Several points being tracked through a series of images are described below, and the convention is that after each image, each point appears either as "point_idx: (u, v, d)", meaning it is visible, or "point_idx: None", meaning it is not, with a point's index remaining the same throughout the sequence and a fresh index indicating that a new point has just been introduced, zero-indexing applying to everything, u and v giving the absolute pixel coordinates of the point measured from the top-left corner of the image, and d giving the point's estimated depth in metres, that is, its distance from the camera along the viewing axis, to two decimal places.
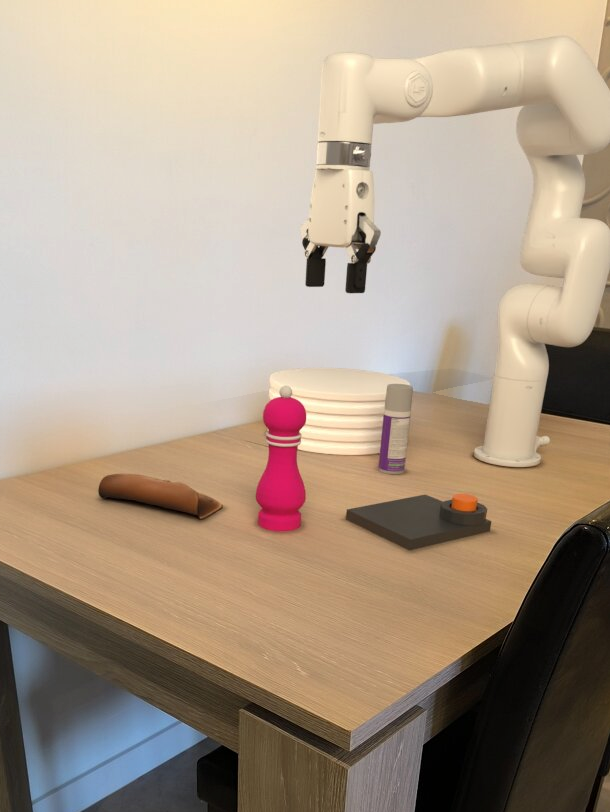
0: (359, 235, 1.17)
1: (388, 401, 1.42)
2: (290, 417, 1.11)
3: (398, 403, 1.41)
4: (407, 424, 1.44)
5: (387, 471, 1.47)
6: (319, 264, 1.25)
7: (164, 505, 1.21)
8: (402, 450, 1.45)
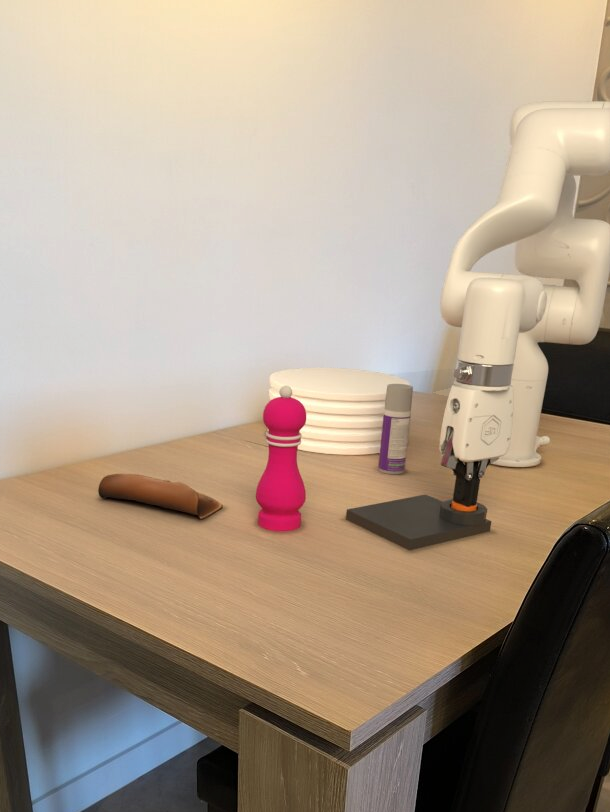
0: None
1: (388, 401, 1.42)
2: (290, 417, 1.11)
3: (398, 403, 1.41)
4: (407, 424, 1.44)
5: (387, 471, 1.47)
6: None
7: (164, 505, 1.21)
8: (402, 450, 1.45)
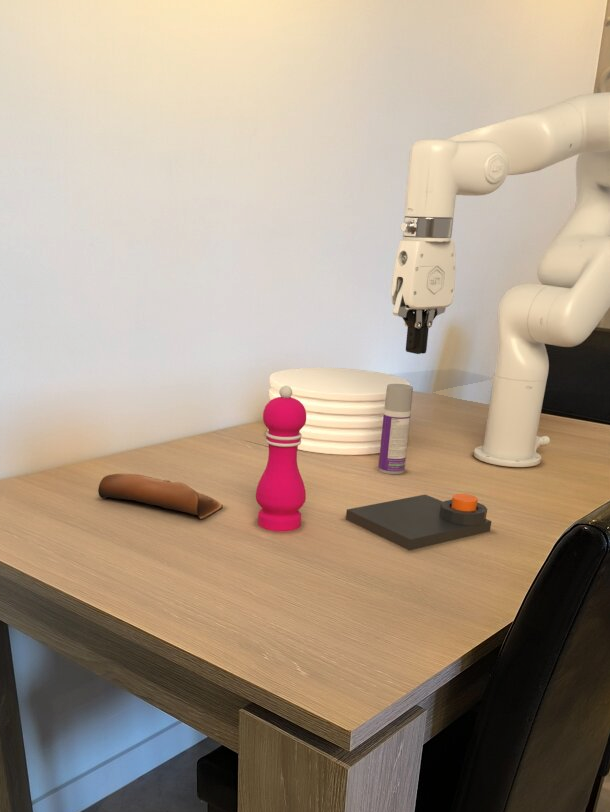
0: None
1: (388, 401, 1.42)
2: (290, 417, 1.11)
3: (398, 403, 1.41)
4: (407, 424, 1.44)
5: (387, 471, 1.47)
6: None
7: (164, 505, 1.21)
8: (402, 450, 1.45)
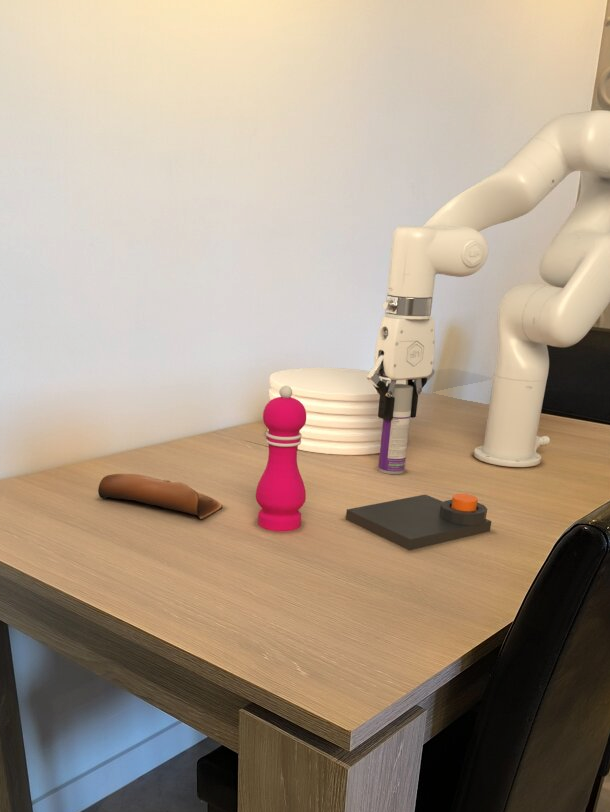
0: None
1: None
2: (290, 417, 1.11)
3: (398, 403, 1.41)
4: (407, 424, 1.44)
5: (387, 471, 1.47)
6: None
7: (164, 505, 1.21)
8: (402, 450, 1.45)
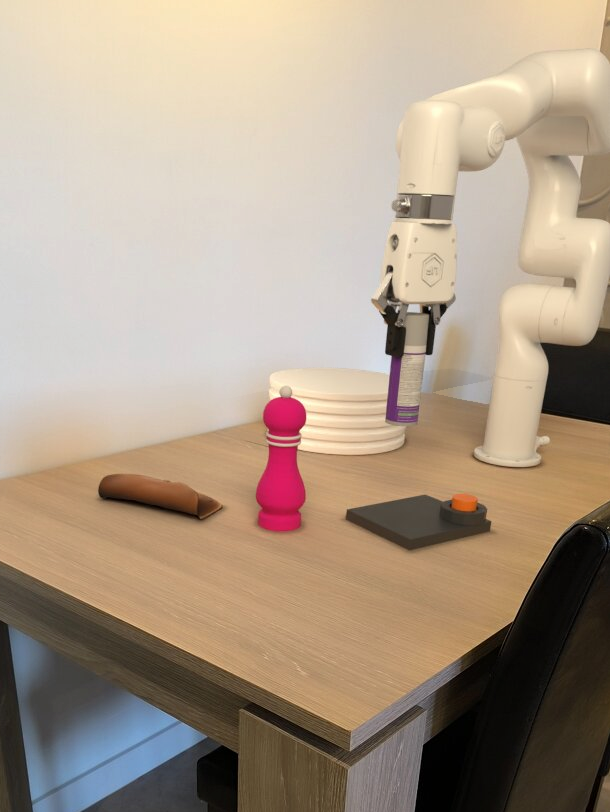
0: None
1: None
2: (290, 417, 1.11)
3: (410, 335, 1.12)
4: (421, 362, 1.15)
5: (396, 422, 1.18)
6: None
7: (164, 505, 1.21)
8: (415, 396, 1.16)
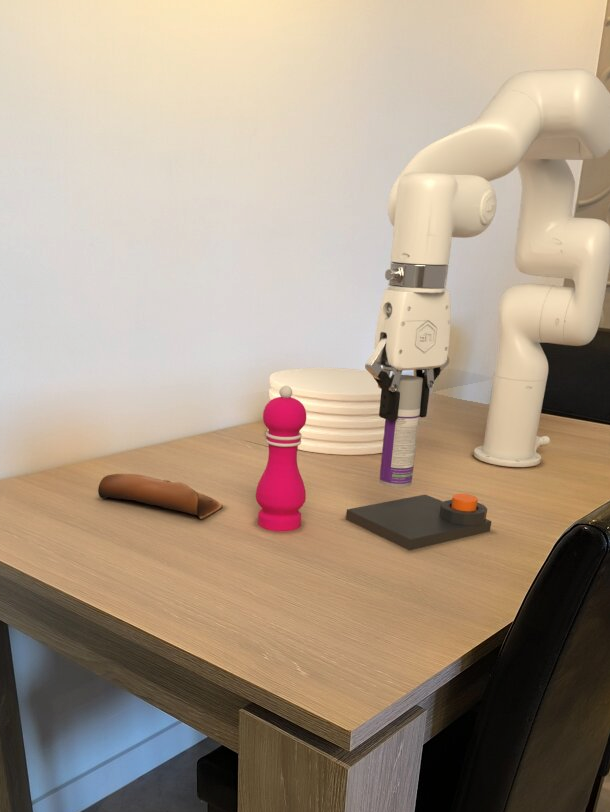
0: None
1: None
2: (290, 417, 1.11)
3: (404, 399, 1.13)
4: (415, 425, 1.15)
5: (390, 483, 1.18)
6: None
7: (164, 505, 1.21)
8: (409, 458, 1.17)
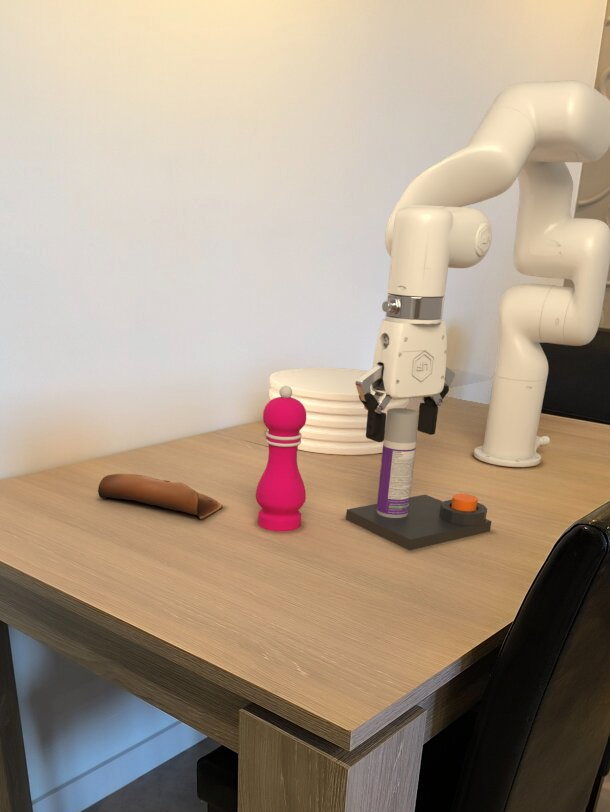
0: None
1: (388, 430, 1.16)
2: (290, 417, 1.11)
3: (401, 433, 1.15)
4: (412, 458, 1.17)
5: (387, 514, 1.20)
6: (427, 411, 1.18)
7: (164, 505, 1.21)
8: (405, 489, 1.19)
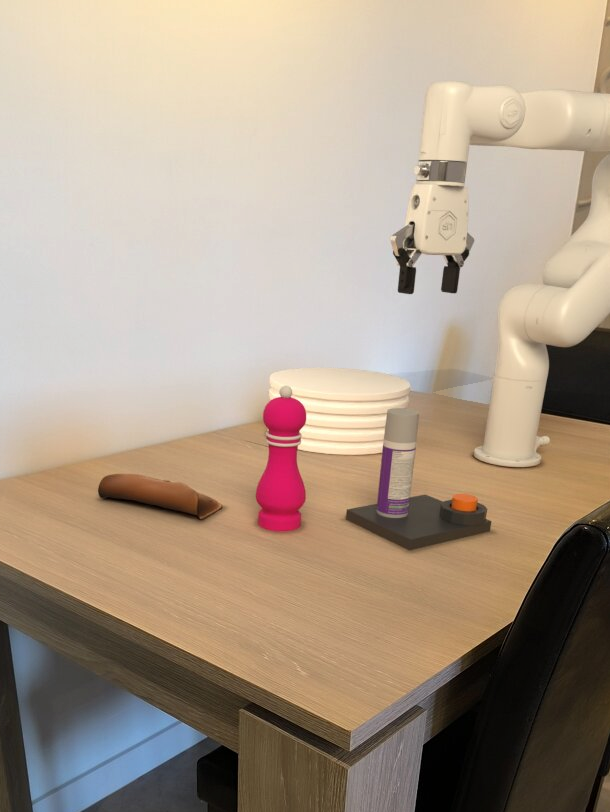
0: None
1: (388, 430, 1.16)
2: (290, 417, 1.11)
3: (401, 433, 1.15)
4: (412, 458, 1.17)
5: (387, 514, 1.20)
6: (450, 272, 1.36)
7: (164, 505, 1.21)
8: (405, 489, 1.19)
